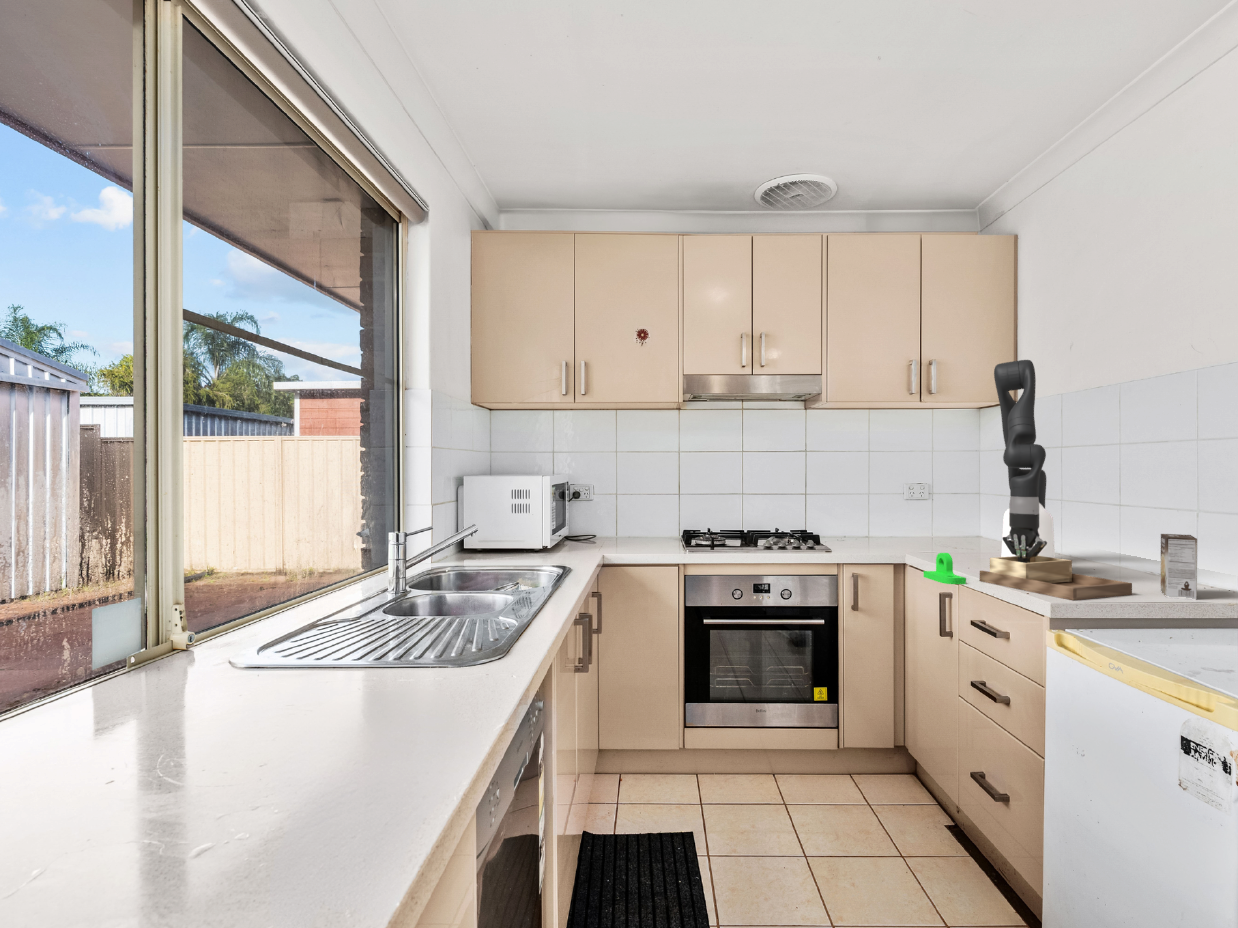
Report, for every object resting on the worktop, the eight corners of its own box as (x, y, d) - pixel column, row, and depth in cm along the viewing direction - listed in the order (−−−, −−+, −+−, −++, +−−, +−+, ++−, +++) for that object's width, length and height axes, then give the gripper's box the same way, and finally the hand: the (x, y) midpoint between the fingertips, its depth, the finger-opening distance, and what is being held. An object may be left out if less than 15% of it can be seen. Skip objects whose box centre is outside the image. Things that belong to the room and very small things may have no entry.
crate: (989, 577, 190) (989, 557, 190) (1034, 574, 196) (1034, 554, 196) (1025, 585, 179) (1025, 563, 179) (1071, 581, 185) (1071, 560, 185)
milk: (1000, 568, 213) (1000, 490, 213) (1038, 569, 211) (1039, 490, 211) (1014, 574, 202) (1015, 492, 202) (1055, 576, 199) (1056, 492, 199)
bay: (979, 581, 191) (979, 570, 191) (1033, 576, 198) (1033, 566, 198) (1073, 600, 164) (1073, 588, 164) (1132, 594, 171) (1132, 583, 171)
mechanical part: (923, 577, 198) (923, 551, 198) (942, 577, 198) (942, 551, 198) (946, 585, 186) (946, 557, 186) (965, 584, 186) (966, 557, 186)
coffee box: (1159, 591, 175) (1159, 533, 175) (1190, 594, 172) (1190, 534, 172) (1165, 597, 168) (1166, 536, 168) (1198, 600, 164) (1198, 538, 164)
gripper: (994, 510, 194) (994, 567, 194) (1035, 513, 182) (1035, 574, 182) (1013, 509, 197) (1013, 566, 197) (1055, 513, 184) (1054, 573, 184)
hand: (1024, 570), depth 189 cm, fingers closed
